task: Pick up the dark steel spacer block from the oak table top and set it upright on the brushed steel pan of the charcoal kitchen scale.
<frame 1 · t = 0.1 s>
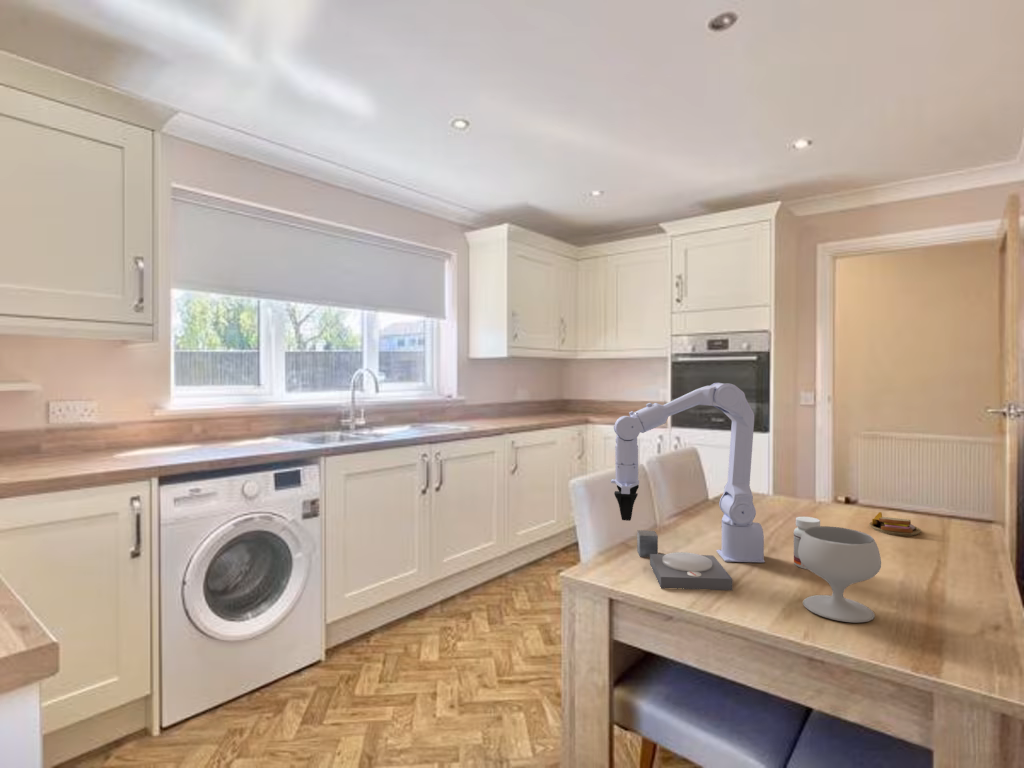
hand: (627, 516, 141), 10 cm above the table, tool pointing down, fingers open, 7 cm apart
pill bottle: (807, 566, 133), on the table
steel spacer: (647, 554, 142), on the table
toy sandwich meal: (895, 532, 161), on the table
kitchen scale: (688, 576, 126), on the table
chalice: (837, 611, 108), on the table
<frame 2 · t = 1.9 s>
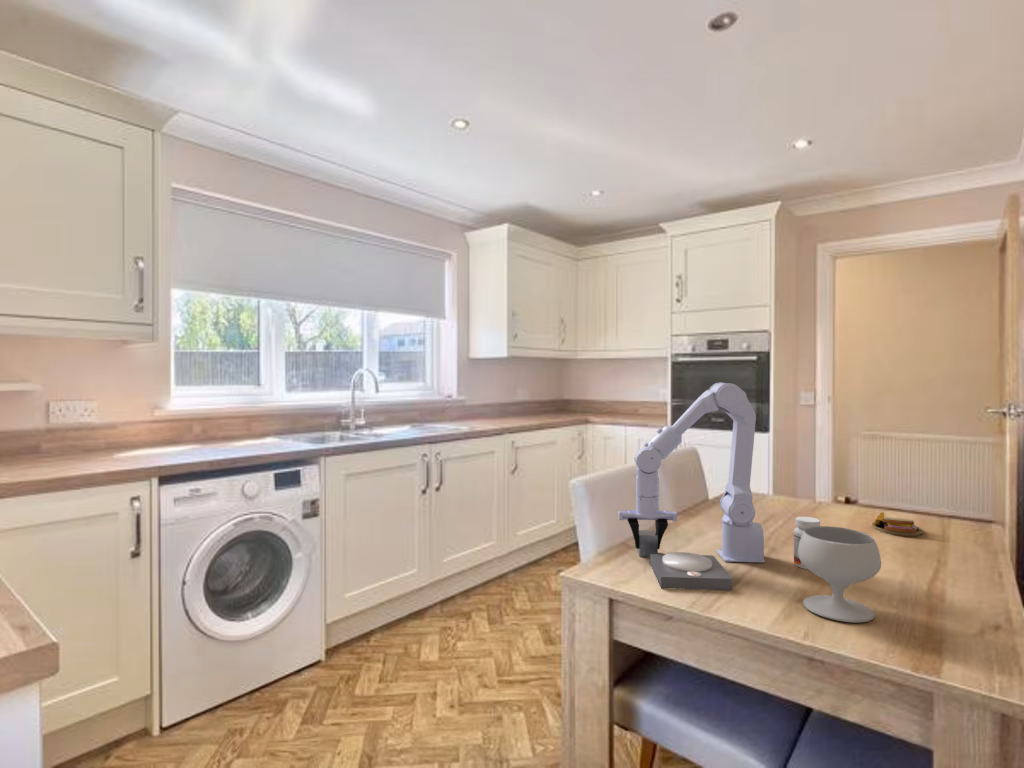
hand: (647, 547, 142), 2 cm above the table, tool pointing down, fingers closed on steel spacer, 4 cm apart
steel spacer: (647, 554, 142), on the table, touching gripper
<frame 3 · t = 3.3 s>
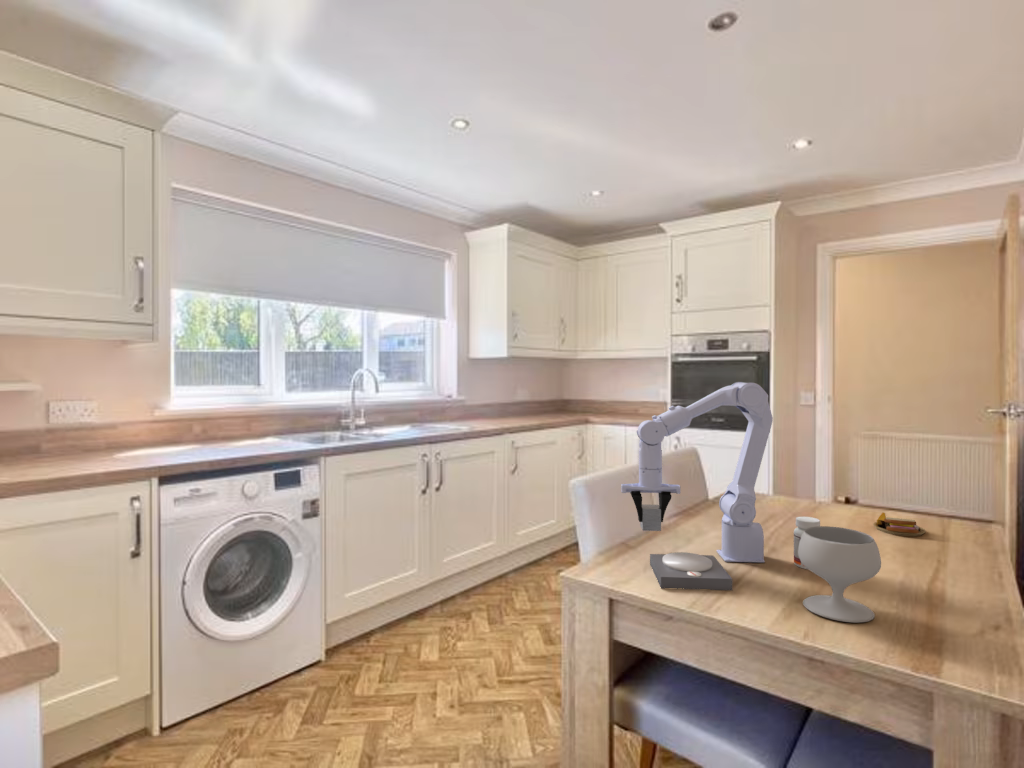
hand: (650, 521, 140), 9 cm above the table, tool pointing down, fingers closed on steel spacer, 4 cm apart
steel spacer: (650, 528, 141), point 7 cm above the table, touching gripper
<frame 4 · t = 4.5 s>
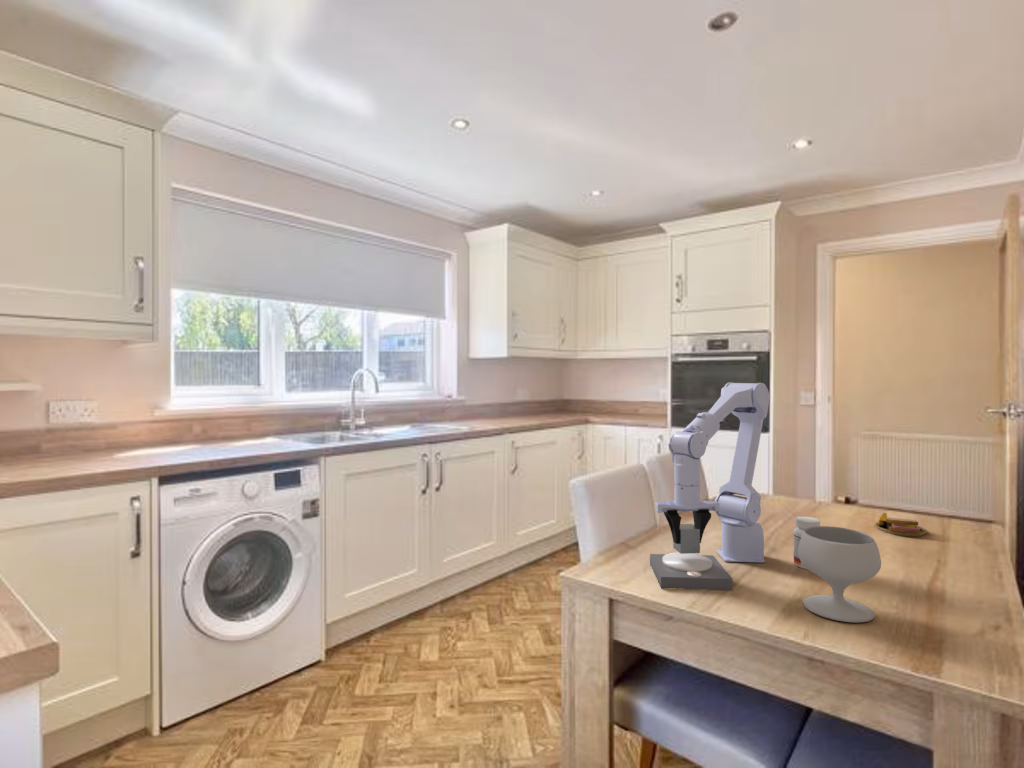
hand: (686, 542, 128), 7 cm above the table, tool pointing down, fingers closed on steel spacer, 4 cm apart
steel spacer: (686, 550, 128), point 5 cm above the table, touching gripper
when the fingers open (6 cm above the table, at t = 5.2 s): steel spacer stays where it is, resting on kitchen scale.
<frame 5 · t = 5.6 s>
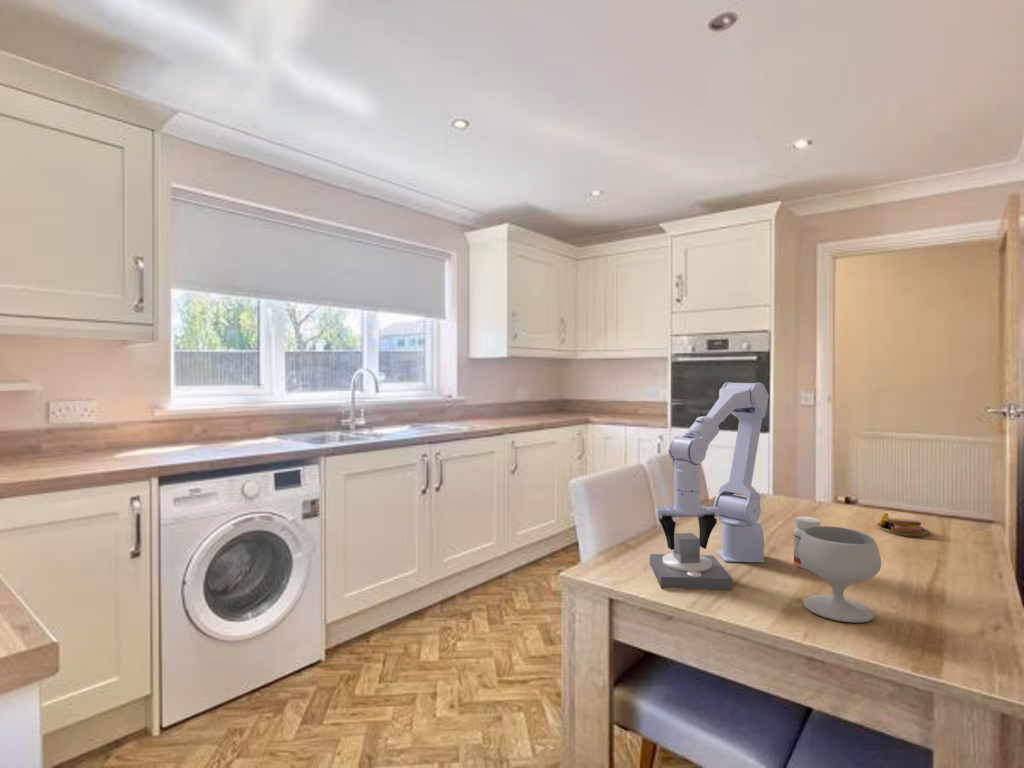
hand: (687, 547, 128), 6 cm above the table, tool pointing down, fingers open, 7 cm apart
steel spacer: (686, 559, 128), point 3 cm above the table, touching kitchen scale
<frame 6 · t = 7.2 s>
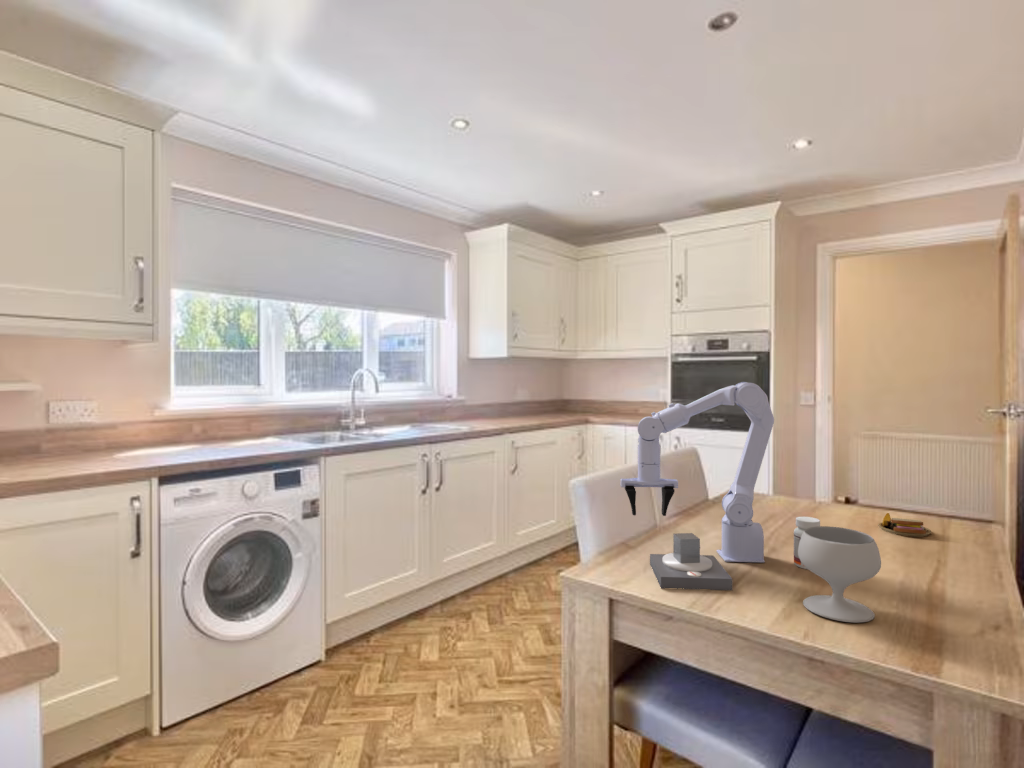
hand: (648, 514, 144), 9 cm above the table, tool pointing down, fingers open, 7 cm apart
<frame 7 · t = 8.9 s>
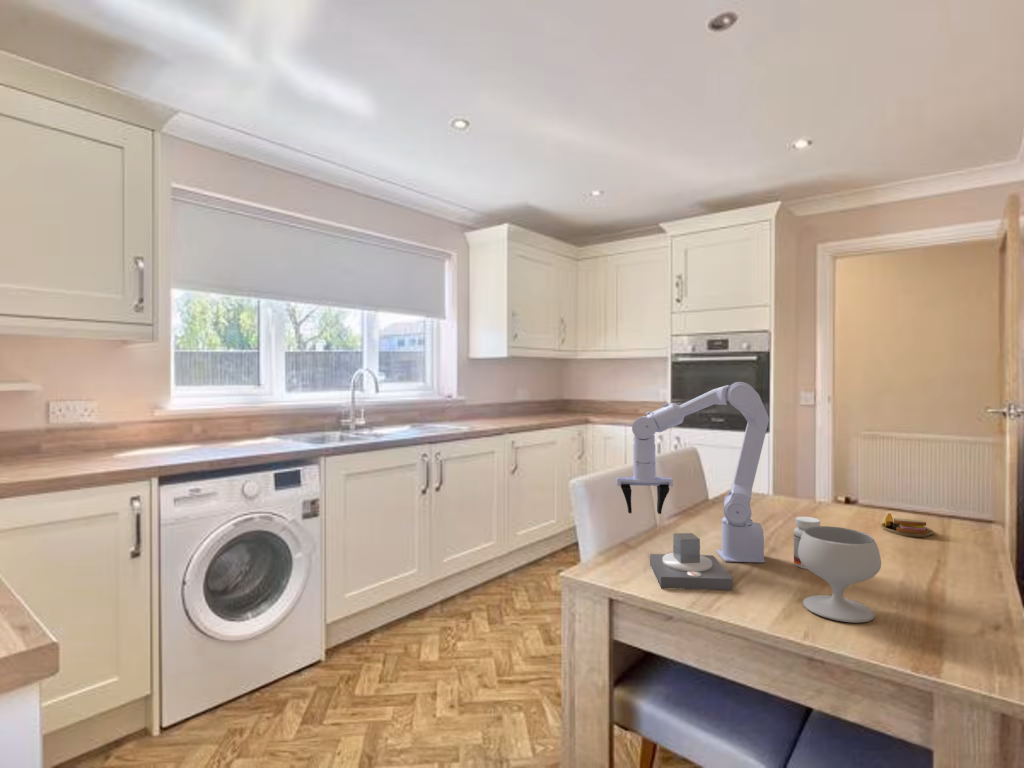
hand: (644, 512, 147), 9 cm above the table, tool pointing down, fingers open, 7 cm apart
at the end: steel spacer inside the target area on the kitchen scale (0.3 cm from its centre), point 3.2 cm above the kitchen scale's base; steel spacer tilted 0°; the gripper is holding nothing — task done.
